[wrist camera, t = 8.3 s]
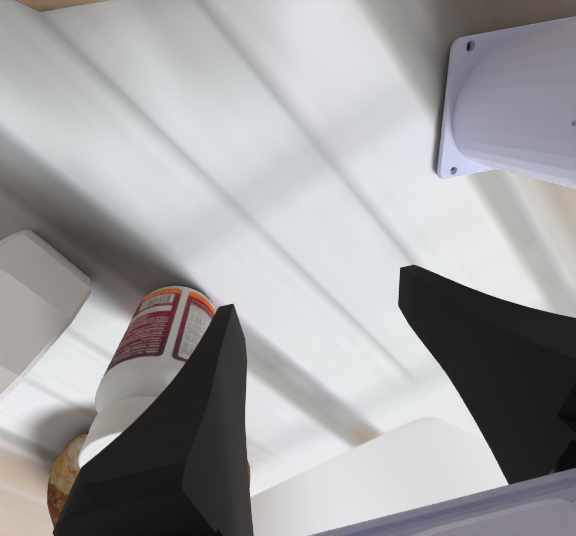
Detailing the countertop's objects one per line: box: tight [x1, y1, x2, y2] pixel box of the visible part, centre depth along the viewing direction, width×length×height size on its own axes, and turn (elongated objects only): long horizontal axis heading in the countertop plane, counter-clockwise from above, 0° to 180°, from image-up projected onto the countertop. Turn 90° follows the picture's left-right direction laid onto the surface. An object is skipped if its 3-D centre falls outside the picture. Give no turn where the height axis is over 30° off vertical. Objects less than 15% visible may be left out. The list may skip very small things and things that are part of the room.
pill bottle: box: [78, 286, 216, 469], centre depth 18 cm, size 6×6×11 cm
